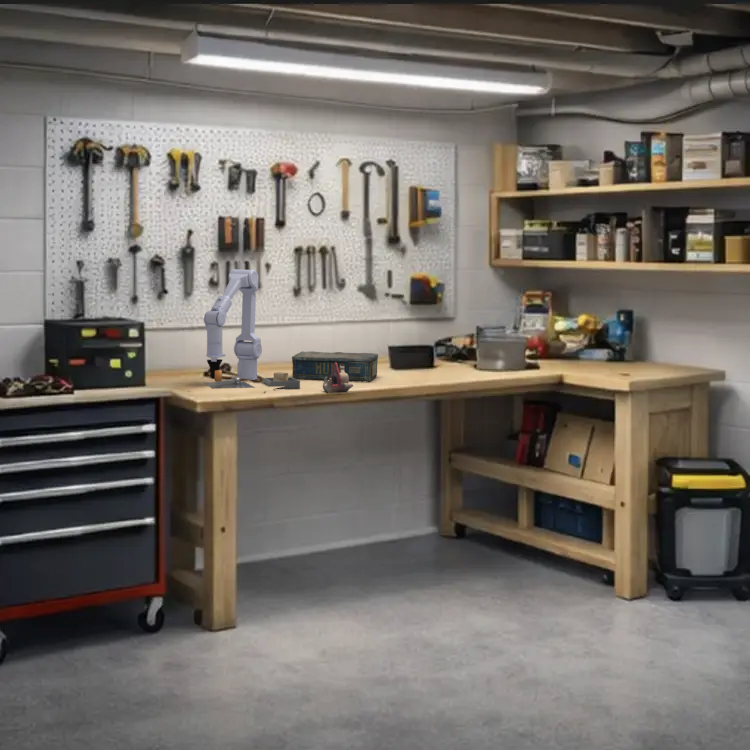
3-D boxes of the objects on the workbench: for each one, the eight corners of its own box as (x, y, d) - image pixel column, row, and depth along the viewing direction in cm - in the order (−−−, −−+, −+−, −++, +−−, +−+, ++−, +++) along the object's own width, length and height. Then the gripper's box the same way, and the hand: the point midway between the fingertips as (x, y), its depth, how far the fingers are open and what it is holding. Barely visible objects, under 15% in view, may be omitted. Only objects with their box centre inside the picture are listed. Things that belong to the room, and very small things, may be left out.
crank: (236, 381, 451) (236, 367, 450) (242, 382, 448) (242, 368, 448) (212, 384, 442) (212, 370, 441) (218, 384, 439) (218, 371, 439)
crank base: (202, 385, 448) (202, 381, 448) (244, 384, 454) (244, 381, 453) (212, 391, 431) (212, 388, 431) (255, 390, 437) (255, 387, 436)
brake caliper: (313, 383, 441) (332, 358, 443) (335, 400, 445) (353, 375, 446) (323, 387, 431) (342, 361, 432) (345, 405, 434) (364, 379, 436)
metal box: (370, 383, 468) (371, 358, 467) (290, 380, 473) (290, 355, 472) (378, 377, 489) (379, 353, 488) (302, 374, 494) (302, 350, 492)
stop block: (278, 384, 451) (279, 371, 450) (288, 385, 449) (288, 372, 448) (273, 386, 447) (273, 372, 447) (282, 386, 445) (282, 373, 445)
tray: (262, 385, 452) (262, 377, 451) (291, 384, 455) (291, 377, 455) (269, 389, 441) (269, 381, 440) (299, 388, 445) (299, 380, 444)
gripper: (224, 344, 435) (224, 381, 436) (226, 340, 449) (226, 376, 451) (205, 344, 434) (205, 381, 436) (207, 340, 448) (207, 376, 450)
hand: (214, 378), depth 443 cm, fingers closed, pressing on crank
